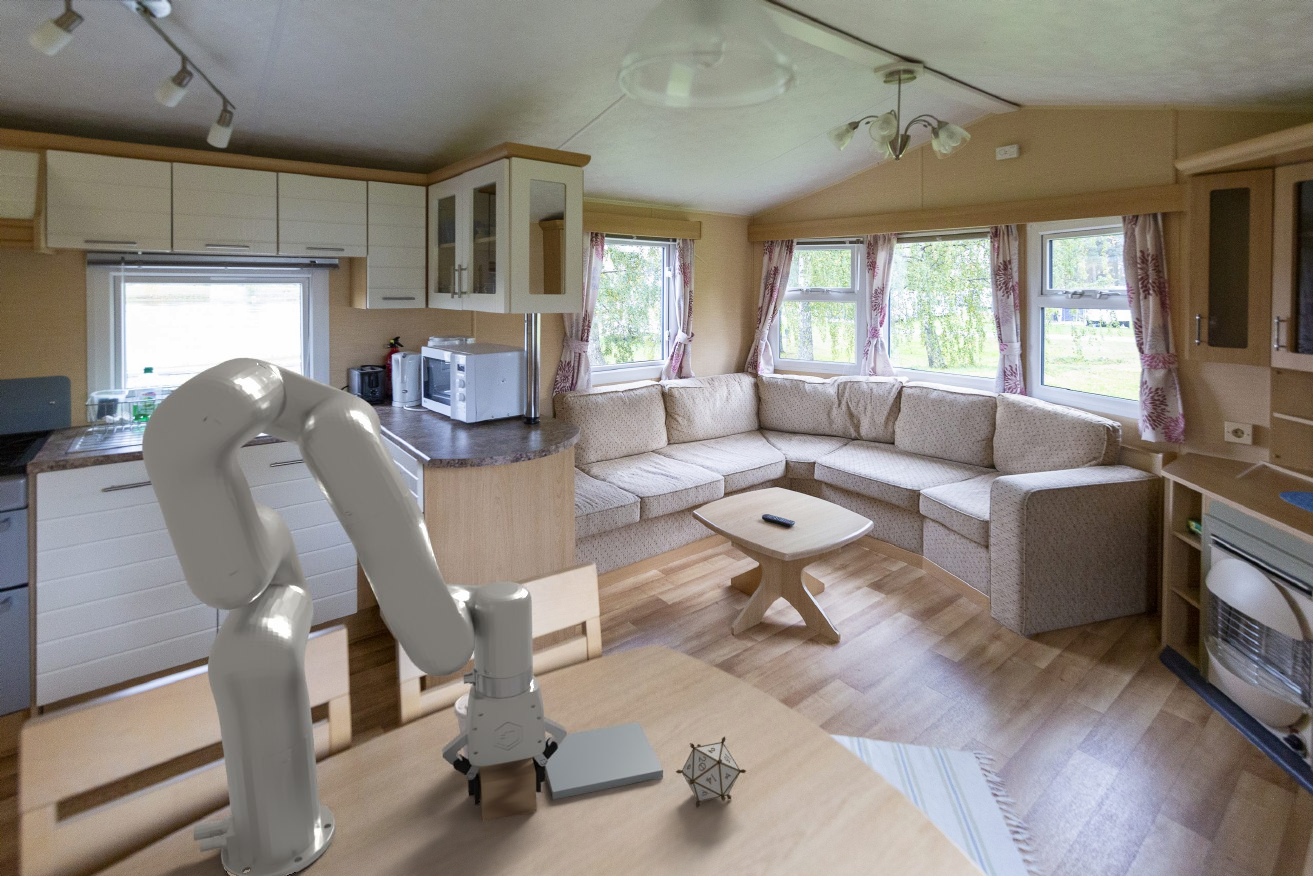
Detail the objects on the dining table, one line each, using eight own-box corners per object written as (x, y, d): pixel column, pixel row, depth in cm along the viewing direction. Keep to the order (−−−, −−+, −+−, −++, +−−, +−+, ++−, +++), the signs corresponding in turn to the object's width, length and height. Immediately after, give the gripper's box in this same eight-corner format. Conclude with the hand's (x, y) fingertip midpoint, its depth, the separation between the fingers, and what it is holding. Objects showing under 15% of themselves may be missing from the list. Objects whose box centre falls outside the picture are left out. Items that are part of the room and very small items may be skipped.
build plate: (552, 799, 99) (552, 792, 99) (538, 746, 110) (538, 739, 110) (662, 777, 104) (663, 770, 104) (638, 728, 115) (638, 721, 115)
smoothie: (448, 772, 104) (444, 685, 101) (467, 744, 110) (464, 661, 107) (490, 778, 103) (488, 690, 100) (507, 750, 109) (505, 666, 106)
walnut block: (483, 823, 95) (481, 783, 93) (478, 787, 101) (477, 750, 100) (536, 812, 97) (535, 773, 96) (528, 778, 103) (528, 741, 102)
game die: (718, 827, 100) (740, 808, 93) (663, 799, 101) (680, 777, 93) (737, 765, 106) (759, 743, 99) (684, 739, 107) (702, 715, 99)
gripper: (436, 702, 89) (442, 825, 93) (575, 681, 94) (575, 797, 98) (434, 671, 96) (440, 786, 100) (563, 652, 101) (564, 762, 105)
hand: (507, 791), depth 99 cm, fingers open, 7 cm apart
